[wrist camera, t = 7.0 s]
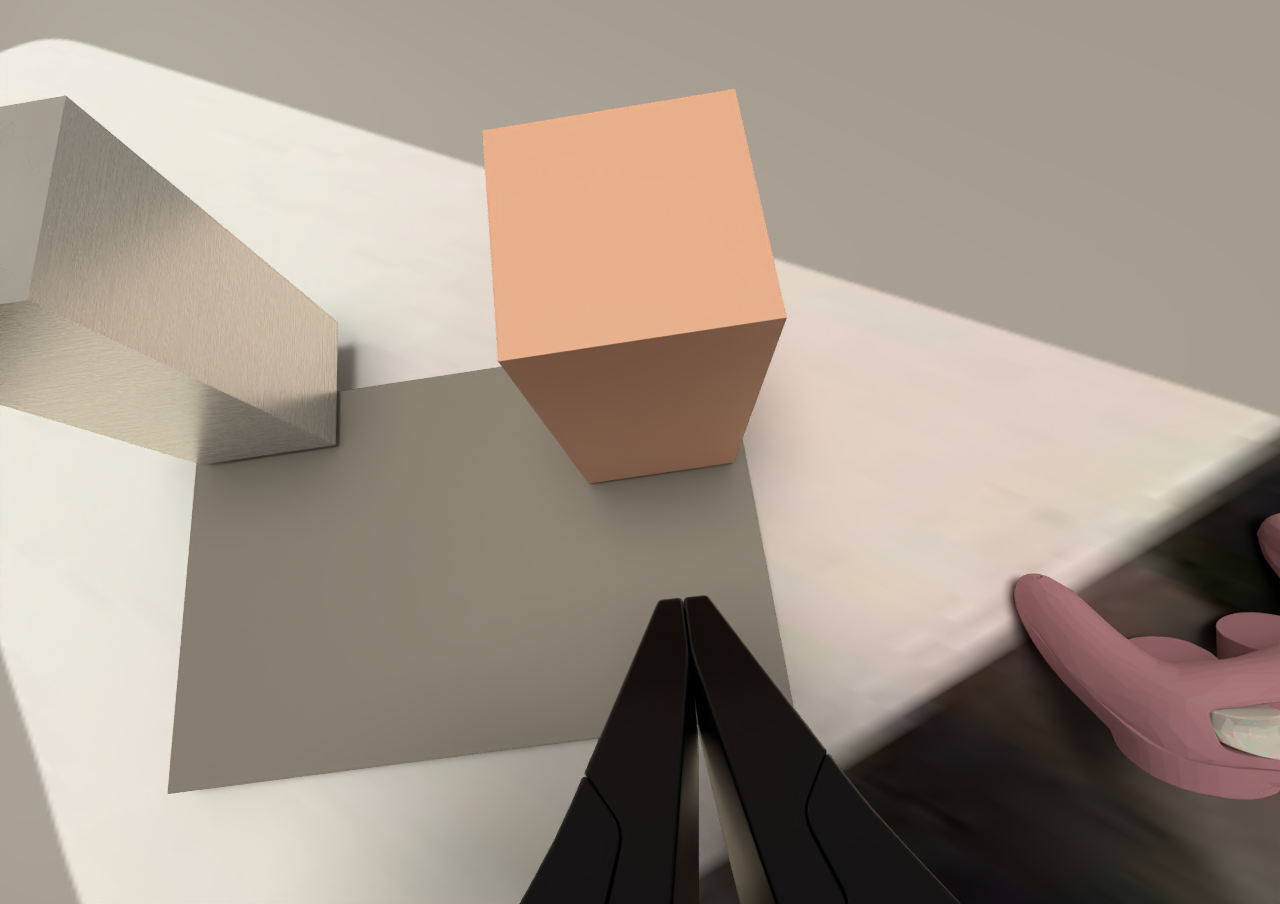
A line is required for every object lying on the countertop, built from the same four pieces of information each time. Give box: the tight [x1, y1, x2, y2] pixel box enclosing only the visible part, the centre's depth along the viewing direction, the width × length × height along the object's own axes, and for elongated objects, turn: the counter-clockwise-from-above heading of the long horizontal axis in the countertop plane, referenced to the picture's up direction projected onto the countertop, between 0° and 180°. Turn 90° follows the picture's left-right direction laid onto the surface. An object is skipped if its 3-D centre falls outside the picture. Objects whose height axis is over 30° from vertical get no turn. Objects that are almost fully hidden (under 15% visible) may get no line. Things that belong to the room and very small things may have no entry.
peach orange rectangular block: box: [483, 89, 787, 483], centre depth 15 cm, size 5×5×10 cm
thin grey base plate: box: [168, 367, 793, 794], centre depth 20 cm, size 13×20×1 cm, turn 97°
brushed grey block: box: [0, 96, 338, 465], centre depth 16 cm, size 5×5×10 cm
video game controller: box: [1014, 514, 1280, 799], centre depth 16 cm, size 10×5×7 cm, turn 103°
